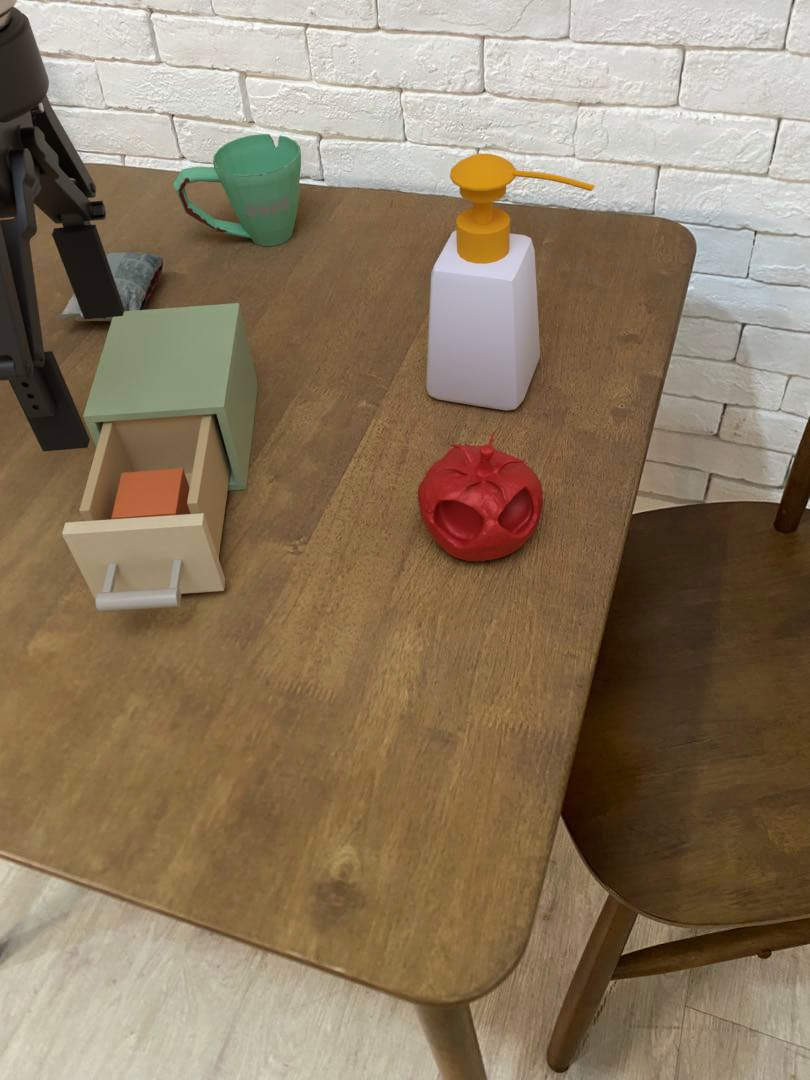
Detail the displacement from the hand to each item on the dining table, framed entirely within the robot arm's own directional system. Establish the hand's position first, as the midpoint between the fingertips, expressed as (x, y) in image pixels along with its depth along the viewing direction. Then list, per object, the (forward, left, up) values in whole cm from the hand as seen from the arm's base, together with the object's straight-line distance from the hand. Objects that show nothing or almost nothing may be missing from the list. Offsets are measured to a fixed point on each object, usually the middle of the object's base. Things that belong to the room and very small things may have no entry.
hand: (87, 375), depth 61 cm
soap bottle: (+30, +22, -21) cm, 43 cm away
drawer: (0, +2, -20) cm, 20 cm away
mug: (+3, +52, -21) cm, 57 cm away
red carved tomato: (+26, +3, -21) cm, 34 cm away
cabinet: (0, +17, -21) cm, 27 cm away
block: (0, +3, -19) cm, 19 cm away
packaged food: (-11, +40, -21) cm, 47 cm away
